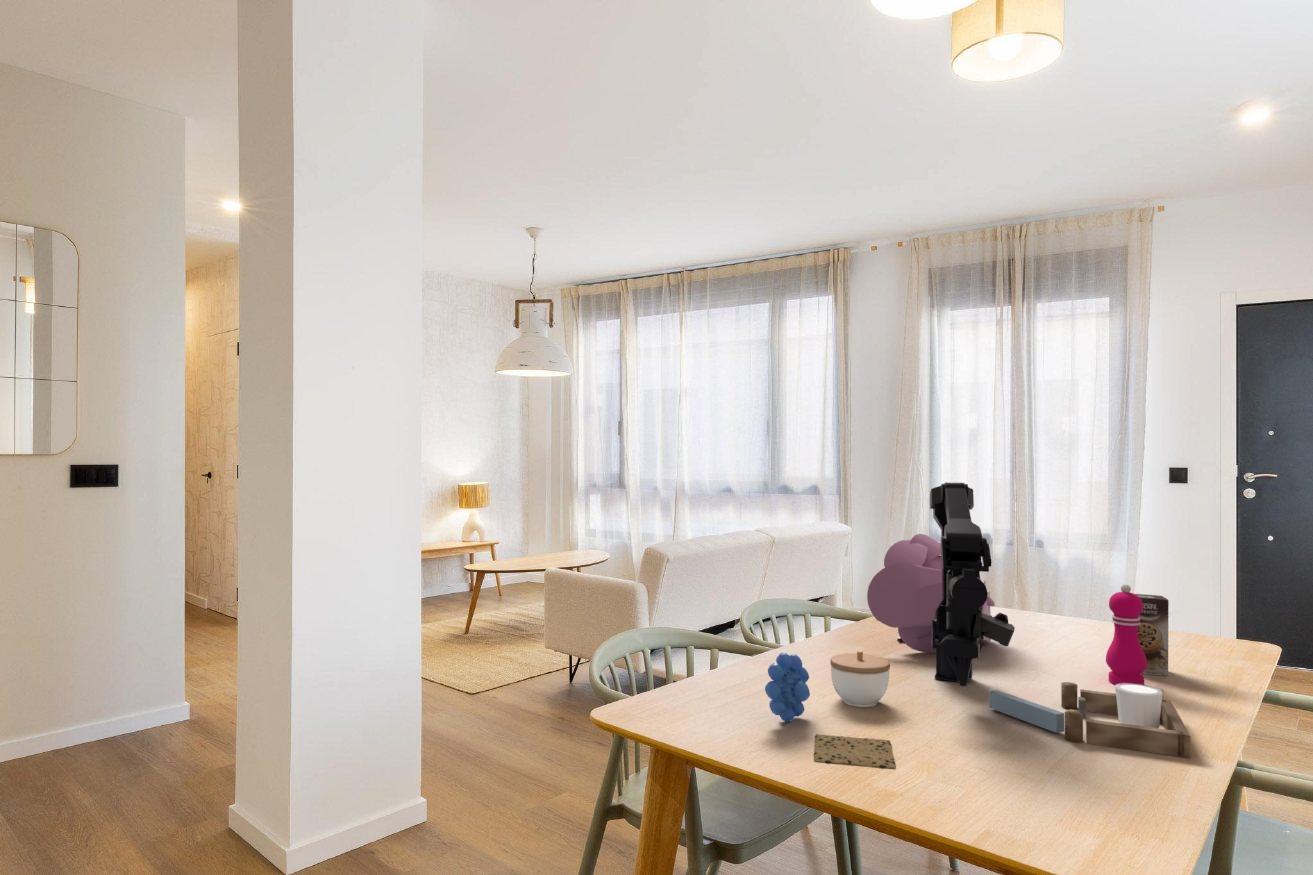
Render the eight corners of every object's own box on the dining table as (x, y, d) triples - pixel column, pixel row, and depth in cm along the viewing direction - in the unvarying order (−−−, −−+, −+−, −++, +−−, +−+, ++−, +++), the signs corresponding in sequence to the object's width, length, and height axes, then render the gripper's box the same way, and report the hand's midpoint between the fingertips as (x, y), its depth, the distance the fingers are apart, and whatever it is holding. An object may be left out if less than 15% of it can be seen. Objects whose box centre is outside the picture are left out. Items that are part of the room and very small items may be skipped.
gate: (1056, 732, 129) (1056, 714, 129) (989, 707, 142) (989, 690, 142) (1064, 731, 130) (1064, 713, 130) (996, 706, 143) (996, 689, 143)
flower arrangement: (922, 645, 211) (905, 540, 218) (1015, 640, 198) (994, 528, 204) (874, 658, 183) (855, 537, 190) (978, 653, 170) (955, 523, 176)
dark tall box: (1119, 671, 168) (1119, 596, 169) (1114, 664, 174) (1114, 591, 174) (1169, 676, 165) (1169, 599, 165) (1163, 668, 171) (1162, 594, 171)
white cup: (1105, 723, 135) (1105, 682, 135) (1143, 722, 136) (1143, 682, 136) (1133, 738, 128) (1133, 694, 128) (1172, 737, 129) (1172, 694, 129)
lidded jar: (837, 690, 153) (837, 642, 154) (894, 698, 149) (894, 648, 149) (824, 706, 144) (824, 654, 144) (884, 714, 139) (884, 661, 139)
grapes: (789, 736, 128) (789, 662, 128) (755, 726, 132) (756, 654, 133) (827, 719, 136) (827, 649, 136) (794, 710, 141) (795, 643, 141)
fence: (1065, 740, 127) (1064, 712, 127) (1061, 704, 146) (1061, 679, 146) (1191, 759, 119) (1190, 728, 119) (1169, 718, 138) (1169, 691, 138)
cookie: (890, 742, 126) (890, 736, 126) (897, 772, 115) (897, 765, 115) (814, 736, 129) (814, 730, 129) (813, 765, 117) (813, 758, 117)
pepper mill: (1153, 689, 155) (1152, 588, 156) (1113, 687, 157) (1112, 586, 157) (1138, 679, 162) (1138, 582, 163) (1100, 677, 164) (1100, 580, 164)
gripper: (1010, 612, 132) (1010, 706, 131) (1013, 595, 148) (1013, 678, 148) (939, 606, 136) (939, 697, 136) (950, 590, 153) (950, 671, 153)
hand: (963, 685), depth 143 cm, fingers closed
